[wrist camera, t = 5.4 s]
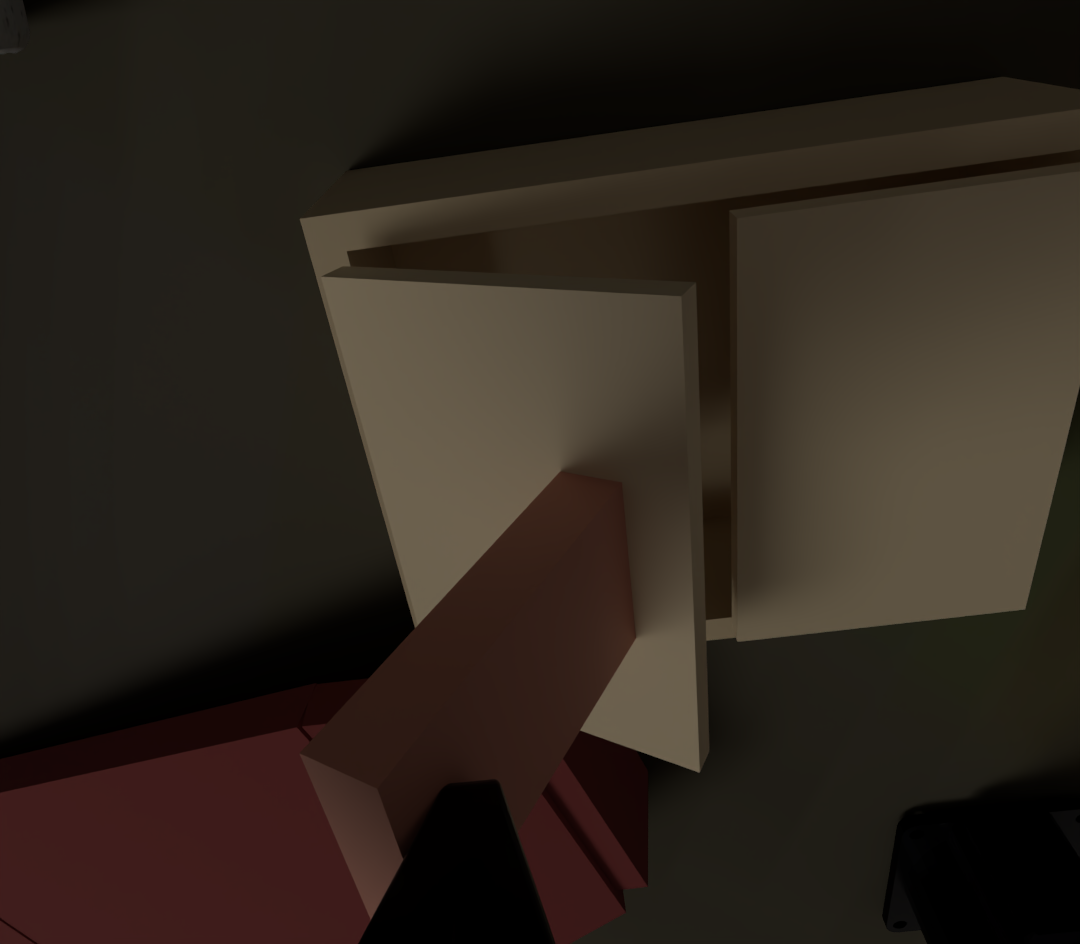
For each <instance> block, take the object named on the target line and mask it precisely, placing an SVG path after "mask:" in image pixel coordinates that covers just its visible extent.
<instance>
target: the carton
mask: <svg viewBox="0 0 1080 944" xmlns="http://www.w3.org/2000/svg"><path fill="white" fill-rule="evenodd" d="M368 679H369V678H368ZM368 679H359V680H350V681H340V682H331V683H322V684H317V683H314V684H310V685H306V686H302V687H297V688H293V689H289V690H285V691H281V692H277V693H272V694H268V695H264V696H260V697H256V698H252V699H248V700H243V701H239V702H235V703H231V704H227V705H223V706H218V707H214V708H210V709H206V710H202V711H198V712H194V713H189V714H185V715H181V716H177V717H173V718H169V719H164V720H160V721H156V722H152V723H148V724H144V725H140V726H135V727H131V728H127V729H123V730H119V731H115V732H110V733H106V734H102V735H98V736H94V737H90V738H86V739H81V740H77V741H73V742H69V743H65V744H61V745H56V746H52V747H48V748H44V749H40V750H36V751H32V752H27V753H23V754H19V755H15V756H11V757H7V758H2V759H0V944H358V943H359V941H360V939H361V937H362V935H363V933H364V932H365V930H366V928H367V926H368V924H369V922H370V920H371V919H370V917H369V915H368V912H367V910H366V908H365V905H364V903H363V901H362V898H361V896H360V894H359V891H358V889H357V887H356V884H355V882H354V880H353V877H352V875H351V873H350V870H349V868H348V866H347V863H346V861H345V859H344V856H343V854H342V852H341V849H340V847H339V845H338V842H337V840H336V838H335V835H334V833H333V831H332V828H331V826H330V824H329V821H328V819H327V817H326V814H325V812H324V810H323V807H322V805H321V803H320V800H319V798H318V796H317V793H316V791H315V789H314V786H313V784H312V782H311V779H310V777H309V775H308V772H307V770H306V768H305V765H304V763H303V761H302V758H301V756H300V754H299V753H300V752H301V751H302V750H303V749H304V748H305V747H306V746H307V745H308V744H309V742H310V741H311V740H312V739H313V738H314V737H315V736H316V735H317V734H318V733H319V732H320V731H321V729H322V728H323V727H324V726H325V725H326V724H327V723H328V722H329V721H330V720H331V719H332V718H333V716H334V715H335V714H336V713H337V712H338V711H339V710H340V709H341V708H342V707H343V706H344V705H345V703H346V702H347V701H348V700H349V699H350V698H351V697H352V696H353V695H354V694H355V693H356V692H357V690H358V689H359V688H360V687H361V686H362V685H363V684H364V683H365V682H366V681H367V680H368ZM518 835H519V838H520V841H521V844H522V847H523V850H524V853H525V856H526V858H527V861H528V864H529V867H530V870H531V873H532V876H533V879H534V882H535V885H536V888H537V891H538V894H539V896H540V899H541V902H542V905H543V908H544V911H545V914H546V917H547V920H548V923H549V926H550V929H551V932H552V934H553V937H554V940H555V943H556V944H570V943H572V942H573V941H575V940H577V939H579V938H581V937H583V936H584V935H586V934H588V933H590V932H592V931H593V930H595V929H597V928H599V927H601V926H602V925H604V924H606V923H608V922H610V921H612V920H613V919H615V918H617V917H619V916H621V915H622V914H624V913H626V910H625V903H624V895H623V889H632V888H640V887H648V770H647V768H646V767H645V765H644V763H643V762H642V760H641V758H640V756H639V755H638V753H637V751H636V750H634V749H631V748H628V747H626V746H623V745H620V744H617V743H614V742H611V741H609V740H606V739H603V738H600V737H597V736H594V735H592V734H589V733H586V732H583V731H579V733H578V735H577V736H576V738H575V740H574V741H573V743H572V745H571V746H570V748H569V749H568V751H567V753H566V754H565V756H564V758H563V759H562V761H561V763H560V764H559V766H558V768H557V769H556V771H555V772H554V774H553V776H552V777H551V779H550V781H549V782H548V784H547V786H546V787H545V789H544V791H543V792H542V794H541V796H540V797H539V799H538V800H537V802H536V804H535V805H534V807H533V809H532V810H531V812H530V814H529V815H528V817H527V819H526V820H525V822H524V823H523V825H522V827H521V828H520V830H519V832H518Z"/></svg>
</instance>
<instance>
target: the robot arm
mask: <svg viewBox="0 0 1080 944" xmlns="http://www.w3.org/2000/svg"><path fill="white" fill-rule="evenodd" d="M882 917H883V920H884V922H885V925H886V927H887V929H888V930H889V931H892V932H905V931H916V930H921V931H922V933H923V935H924V938H925V940H926V942H927V944H1080V798H1076V799H1066V800H1056V801H1046V802H1036V803H1026V804H1017V805H1007V806H997V807H987V808H977V809H967V810H957V811H948V812H938V813H928V814H918V815H911V816H907V817H905V818H903V819H902V820H901V821H900V822H899V823H898V825H897V830H896V836H895V842H894V848H893V854H892V860H891V866H890V872H889V878H888V884H887V890H886V896H885V902H884V908H883V914H882ZM358 944H556V943H555V940H554V937H553V934H552V932H551V929H550V926H549V923H548V920H547V917H546V914H545V911H544V908H543V905H542V902H541V899H540V896H539V894H538V891H537V888H536V885H535V882H534V879H533V876H532V873H531V870H530V867H529V864H528V861H527V858H526V856H525V853H524V850H523V847H522V844H521V841H520V838H519V835H518V832H517V829H516V826H515V823H514V820H513V818H512V815H511V812H510V809H509V806H508V803H507V800H506V797H505V794H504V791H503V788H502V786H501V784H500V782H499V781H498V780H496V779H489V780H479V781H469V782H458V783H450V784H447V785H446V786H444V787H443V788H442V789H441V791H440V792H439V794H438V796H437V797H436V799H435V801H434V803H433V805H432V807H431V808H430V810H429V812H428V814H427V816H426V818H425V820H424V822H423V823H422V825H421V827H420V829H419V831H418V833H417V835H416V836H415V838H414V840H413V842H412V844H411V846H410V848H409V850H408V851H407V853H406V855H405V857H404V859H403V861H402V863H401V864H400V866H399V868H398V870H397V872H396V874H395V876H394V878H393V879H392V881H391V883H390V885H389V887H388V889H387V891H386V892H385V894H384V896H383V898H382V900H381V902H380V904H379V905H378V907H377V909H376V911H375V913H374V915H373V917H372V919H371V920H370V922H369V924H368V926H367V928H366V930H365V932H364V933H363V935H362V937H361V939H360V941H359V943H358Z"/></svg>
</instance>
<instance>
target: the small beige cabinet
mask: <svg viewBox="0 0 1080 944" xmlns="http://www.w3.org/2000/svg"><path fill="white" fill-rule="evenodd" d="M1078 162H1080V90H1079V89H1073V88H1068V87H1062V86H1056V85H1050V84H1044V83H1038V82H1032V81H1026V80H1020V79H1014V78H1008V77H998V78H991V79H984V80H977V81H970V82H963V83H956V84H949V85H942V86H935V87H928V88H921V89H914V90H907V91H900V92H893V93H886V94H879V95H872V96H865V97H858V98H851V99H844V100H837V101H830V102H823V103H816V104H809V105H802V106H795V107H788V108H781V109H774V110H767V111H760V112H753V113H746V114H739V115H732V116H725V117H718V118H711V119H704V120H697V121H690V122H684V123H677V124H670V125H663V126H656V127H649V128H642V129H635V130H628V131H621V132H614V133H607V134H600V135H593V136H586V137H579V138H572V139H565V140H558V141H551V142H544V143H537V144H530V145H523V146H516V147H509V148H502V149H495V150H488V151H481V152H474V153H467V154H460V155H453V156H446V157H439V158H432V159H425V160H418V161H411V162H404V163H397V164H390V165H383V166H376V167H369V168H362V169H355V170H348V171H346V172H345V173H344V174H343V175H342V176H341V177H340V178H339V179H338V180H337V181H336V182H335V183H334V184H333V185H332V186H331V187H330V188H329V189H328V190H327V191H326V192H325V193H324V195H323V196H322V197H321V198H320V199H319V200H318V201H317V202H316V203H315V204H314V205H313V206H312V207H311V208H310V209H309V210H308V211H307V212H306V213H305V214H304V215H303V216H302V217H301V218H300V221H301V225H302V228H303V232H304V235H305V239H306V242H307V246H308V250H309V253H310V257H311V260H312V264H313V267H314V271H315V274H316V278H317V281H318V285H319V289H320V292H321V296H322V299H323V303H324V306H325V310H326V313H327V317H328V321H329V324H330V328H331V331H332V335H333V338H334V342H335V345H336V349H337V353H338V356H339V360H340V363H341V367H342V370H343V374H344V377H345V381H346V385H347V388H348V392H349V395H350V399H351V402H352V406H353V409H354V413H355V416H356V420H357V424H358V427H359V431H360V434H361V438H362V441H363V445H364V448H365V452H366V456H367V459H368V463H369V466H370V470H371V473H372V477H373V480H374V484H375V488H376V491H377V495H378V498H379V502H380V505H381V509H382V512H383V516H384V520H385V523H386V527H387V530H388V534H389V537H390V541H391V544H392V548H393V551H394V555H395V559H396V562H397V566H398V569H399V573H400V576H401V580H402V583H403V587H404V591H405V594H406V598H407V601H408V605H409V608H410V612H411V615H412V619H413V623H414V626H415V628H416V627H417V626H418V624H417V620H416V617H415V613H414V610H413V606H412V602H411V599H410V595H409V592H408V588H407V584H406V581H405V577H404V574H403V570H402V567H401V563H400V559H399V556H398V552H397V549H396V545H395V541H394V538H393V534H392V531H391V527H390V523H389V520H388V516H387V513H386V509H385V505H384V502H383V498H382V495H381V491H380V487H379V484H378V480H377V477H376V473H375V470H374V466H373V462H372V459H371V455H370V452H369V448H368V444H367V441H366V437H365V434H364V430H363V426H362V423H361V419H360V416H359V412H358V408H357V405H356V401H355V398H354V394H353V390H352V387H351V383H350V380H349V376H348V373H347V369H346V365H345V362H344V358H343V355H342V351H341V347H340V344H339V340H338V337H337V333H336V329H335V326H334V322H333V319H332V315H331V311H330V308H329V304H328V301H327V297H326V293H325V290H324V286H323V283H322V279H321V276H323V275H325V274H327V273H329V272H331V271H334V270H336V269H338V268H340V267H342V266H350V267H373V268H395V269H417V270H439V271H461V272H483V273H505V274H527V275H549V276H571V277H593V278H615V279H637V280H659V281H681V282H696V297H697V332H698V367H699V402H700V438H701V473H702V508H703V543H704V578H705V613H706V641H708V640H717V639H726V638H735V637H736V636H735V633H734V630H733V627H732V569H731V402H730V234H729V211H730V210H737V209H744V208H751V207H759V206H766V205H773V204H780V203H788V202H795V201H802V200H809V199H817V198H824V197H831V196H838V195H846V194H853V193H860V192H868V191H875V190H882V189H889V188H897V187H904V186H911V185H918V184H926V183H933V182H940V181H947V180H955V179H962V178H969V177H976V176H984V175H991V174H998V173H1005V172H1013V171H1020V170H1027V169H1034V168H1042V167H1049V166H1056V165H1063V164H1071V163H1078Z"/></svg>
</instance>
